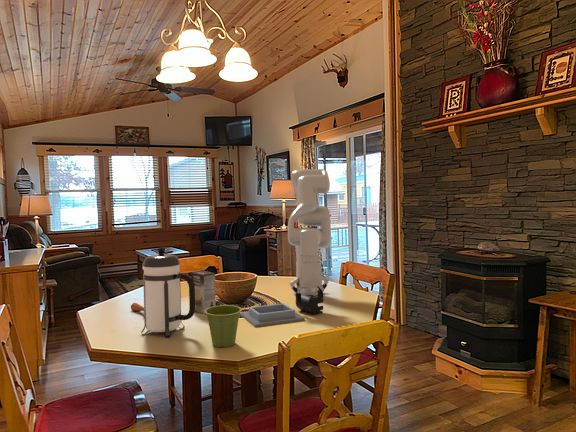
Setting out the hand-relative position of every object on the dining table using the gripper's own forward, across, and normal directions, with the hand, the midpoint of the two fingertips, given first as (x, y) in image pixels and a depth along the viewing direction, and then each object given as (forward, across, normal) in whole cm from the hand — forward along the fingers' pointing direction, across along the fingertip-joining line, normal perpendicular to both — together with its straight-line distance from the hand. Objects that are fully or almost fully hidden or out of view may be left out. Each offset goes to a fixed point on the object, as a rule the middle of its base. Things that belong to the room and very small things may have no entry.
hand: (309, 301), depth 177 cm
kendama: (+5, +62, -26) cm, 67 cm away
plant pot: (+6, +42, +22) cm, 48 cm away
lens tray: (+5, +17, 0) cm, 17 cm away
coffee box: (+5, +39, -22) cm, 45 cm away
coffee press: (+5, +57, +1) cm, 57 cm away
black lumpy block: (+5, 0, -1) cm, 5 cm away
